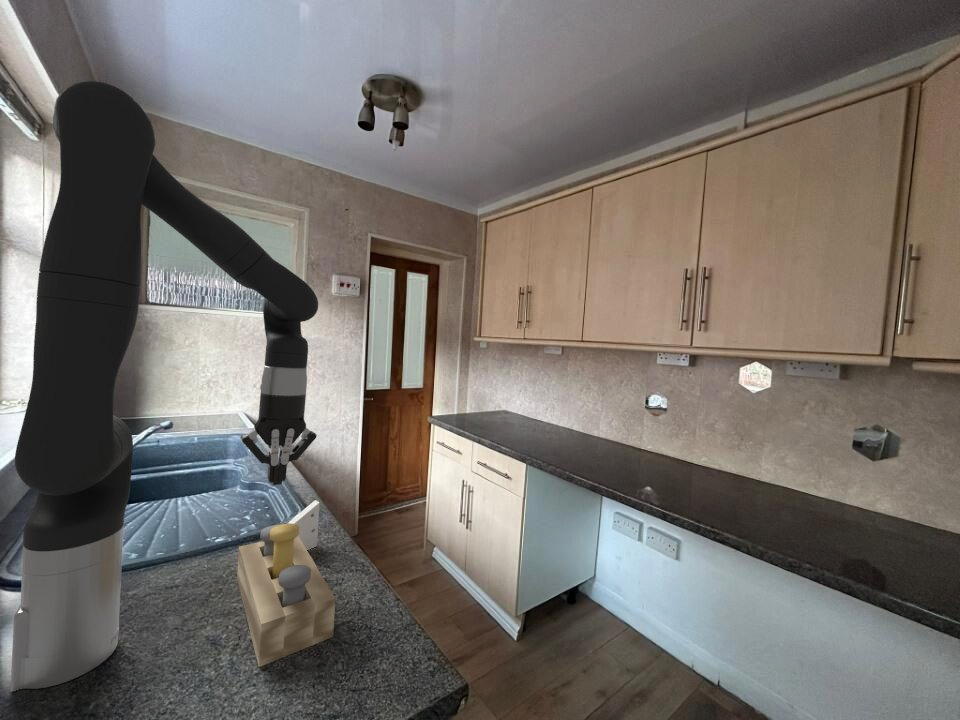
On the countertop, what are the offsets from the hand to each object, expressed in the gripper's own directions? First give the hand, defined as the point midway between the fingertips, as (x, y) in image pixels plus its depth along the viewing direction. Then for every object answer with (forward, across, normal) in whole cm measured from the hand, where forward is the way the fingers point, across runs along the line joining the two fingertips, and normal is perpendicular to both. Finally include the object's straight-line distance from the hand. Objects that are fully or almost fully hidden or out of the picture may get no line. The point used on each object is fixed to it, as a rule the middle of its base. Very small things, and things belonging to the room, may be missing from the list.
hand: (276, 483), depth 70 cm
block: (+18, 0, -8) cm, 20 cm away
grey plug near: (+18, 0, -16) cm, 24 cm away
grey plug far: (+18, 0, 0) cm, 18 cm away
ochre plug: (+14, 0, -8) cm, 16 cm away
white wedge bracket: (+18, +8, +9) cm, 22 cm away
